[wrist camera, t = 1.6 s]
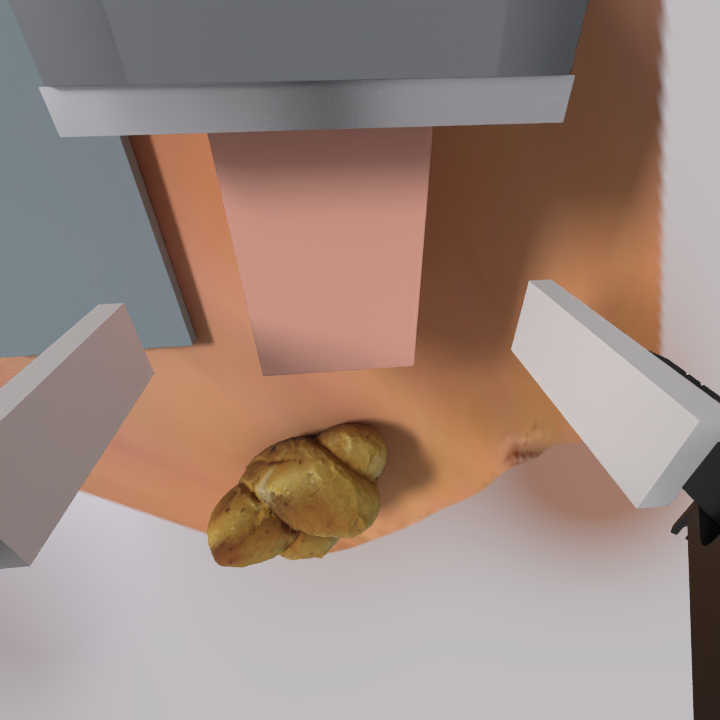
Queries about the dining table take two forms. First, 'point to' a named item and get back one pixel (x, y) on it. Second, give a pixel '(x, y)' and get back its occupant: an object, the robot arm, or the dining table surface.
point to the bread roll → (300, 497)
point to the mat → (73, 223)
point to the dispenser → (299, 63)
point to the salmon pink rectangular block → (328, 242)
